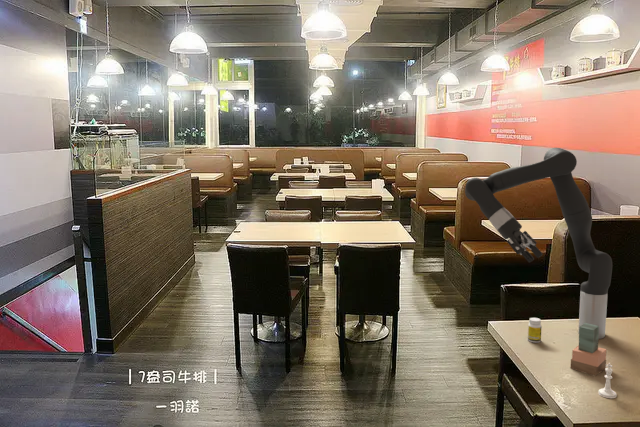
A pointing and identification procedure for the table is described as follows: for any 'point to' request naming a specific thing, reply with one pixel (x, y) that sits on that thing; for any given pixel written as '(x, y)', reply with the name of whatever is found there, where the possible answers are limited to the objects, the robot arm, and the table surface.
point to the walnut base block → (588, 367)
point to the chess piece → (607, 385)
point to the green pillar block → (588, 337)
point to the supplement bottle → (534, 330)
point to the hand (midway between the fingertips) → (536, 258)
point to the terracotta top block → (589, 356)
